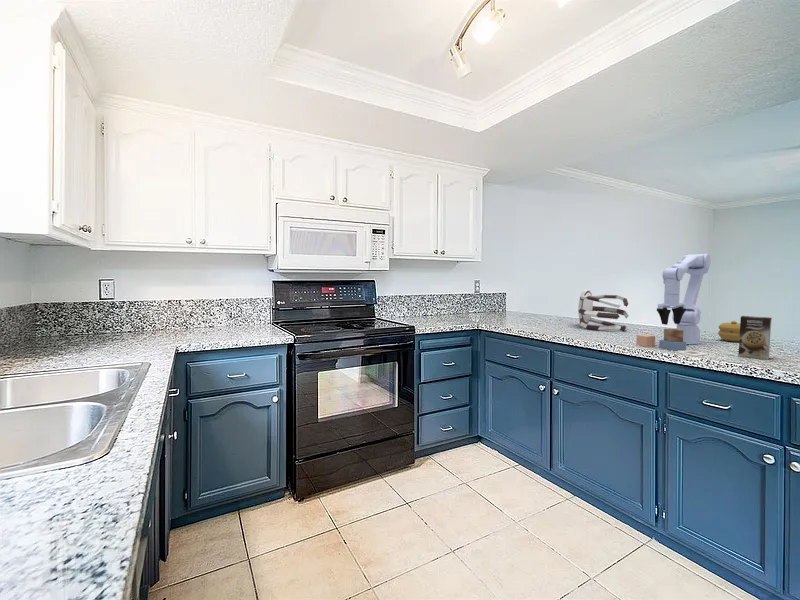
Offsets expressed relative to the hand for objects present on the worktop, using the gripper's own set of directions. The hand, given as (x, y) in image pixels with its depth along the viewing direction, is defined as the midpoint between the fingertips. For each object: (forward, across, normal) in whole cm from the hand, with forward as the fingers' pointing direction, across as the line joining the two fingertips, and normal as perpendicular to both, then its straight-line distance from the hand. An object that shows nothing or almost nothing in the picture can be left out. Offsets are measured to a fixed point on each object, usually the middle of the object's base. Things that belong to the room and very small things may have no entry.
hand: (670, 324), depth 183 cm
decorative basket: (+11, -19, -59) cm, 63 cm away
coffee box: (+11, -9, +28) cm, 31 cm away
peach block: (+10, +9, -5) cm, 15 cm away
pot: (+11, -42, 0) cm, 43 cm away
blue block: (+11, +5, +5) cm, 13 cm away
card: (+10, +7, +15) cm, 20 cm away
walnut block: (+7, +5, +5) cm, 10 cm away
